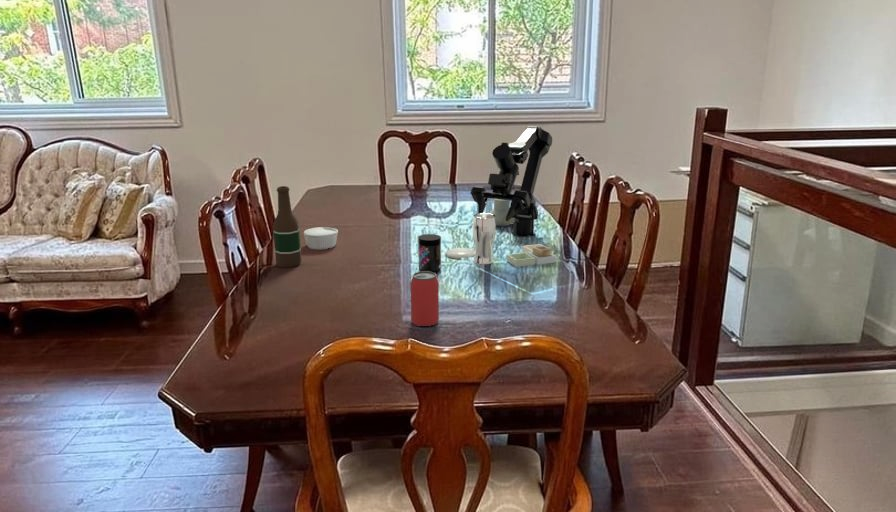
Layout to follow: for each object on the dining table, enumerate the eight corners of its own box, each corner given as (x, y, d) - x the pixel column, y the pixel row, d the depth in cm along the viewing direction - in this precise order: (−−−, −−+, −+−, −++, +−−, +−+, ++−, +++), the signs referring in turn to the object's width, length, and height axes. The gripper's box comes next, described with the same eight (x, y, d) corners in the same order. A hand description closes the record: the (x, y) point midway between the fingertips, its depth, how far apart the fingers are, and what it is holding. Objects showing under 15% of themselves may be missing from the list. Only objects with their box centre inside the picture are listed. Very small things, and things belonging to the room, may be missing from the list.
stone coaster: (469, 248, 203) (469, 246, 203) (481, 256, 195) (481, 255, 194) (441, 251, 200) (441, 250, 200) (452, 260, 191) (452, 258, 191)
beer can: (410, 317, 149) (409, 270, 145) (437, 316, 149) (437, 269, 146) (411, 328, 142) (410, 280, 139) (439, 327, 143) (439, 279, 139)
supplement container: (419, 266, 185) (419, 233, 182) (442, 267, 185) (442, 234, 182) (417, 274, 179) (416, 240, 176) (440, 274, 178) (440, 240, 175)
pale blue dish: (545, 257, 194) (545, 250, 193) (555, 263, 188) (556, 256, 187) (527, 260, 191) (527, 252, 191) (537, 266, 186) (537, 258, 185)
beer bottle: (307, 261, 190) (301, 185, 183) (293, 269, 183) (286, 190, 176) (285, 259, 193) (279, 183, 185) (270, 266, 186) (263, 188, 178)
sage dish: (524, 259, 192) (525, 252, 191) (534, 265, 186) (535, 258, 185) (506, 262, 189) (506, 254, 189) (516, 268, 184) (516, 260, 183)
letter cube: (542, 257, 192) (542, 245, 191) (550, 261, 189) (551, 248, 188) (532, 259, 190) (532, 247, 189) (540, 263, 187) (541, 250, 186)
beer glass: (493, 267, 185) (494, 218, 181) (470, 265, 186) (471, 217, 182) (496, 260, 192) (497, 213, 187) (474, 258, 193) (474, 212, 188)
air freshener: (499, 229, 227) (499, 202, 224) (483, 224, 233) (483, 199, 230) (519, 224, 234) (519, 198, 231) (503, 220, 240) (504, 195, 237)
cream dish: (539, 251, 200) (539, 243, 200) (549, 256, 195) (550, 249, 194) (522, 253, 198) (522, 245, 197) (531, 258, 193) (532, 251, 192)
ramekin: (345, 243, 209) (344, 228, 208) (325, 252, 200) (324, 237, 198) (318, 239, 214) (317, 225, 212) (298, 248, 204) (296, 233, 203)
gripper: (473, 161, 194) (457, 201, 188) (529, 165, 186) (515, 207, 180) (482, 181, 203) (468, 221, 197) (536, 186, 195) (523, 227, 189)
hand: (492, 219), depth 191 cm, fingers open, 9 cm apart
